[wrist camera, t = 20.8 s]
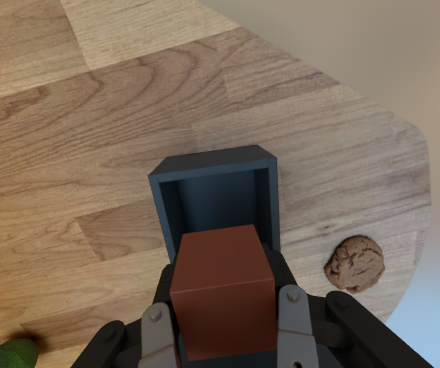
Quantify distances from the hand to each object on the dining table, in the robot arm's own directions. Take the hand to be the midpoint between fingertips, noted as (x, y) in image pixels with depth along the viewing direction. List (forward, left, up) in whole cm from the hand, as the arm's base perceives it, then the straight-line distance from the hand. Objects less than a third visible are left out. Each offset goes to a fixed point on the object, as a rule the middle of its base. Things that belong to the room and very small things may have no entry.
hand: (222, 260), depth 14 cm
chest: (+2, +3, -17) cm, 18 cm away
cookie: (-7, +27, -17) cm, 33 cm away
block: (0, 0, 0) cm, 0 cm away
